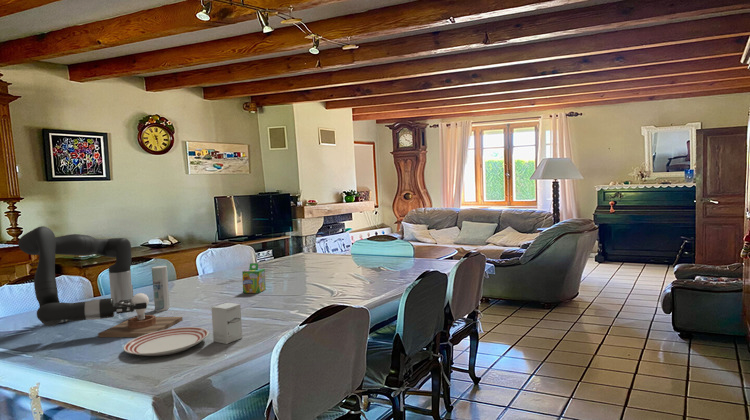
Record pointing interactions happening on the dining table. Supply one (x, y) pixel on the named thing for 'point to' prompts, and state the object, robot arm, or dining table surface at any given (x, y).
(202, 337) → the dinner plate
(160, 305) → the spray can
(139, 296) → the lightbulb
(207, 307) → the dining table surface
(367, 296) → the dining table surface
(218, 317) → the supplement box
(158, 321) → the holder board
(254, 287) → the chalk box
